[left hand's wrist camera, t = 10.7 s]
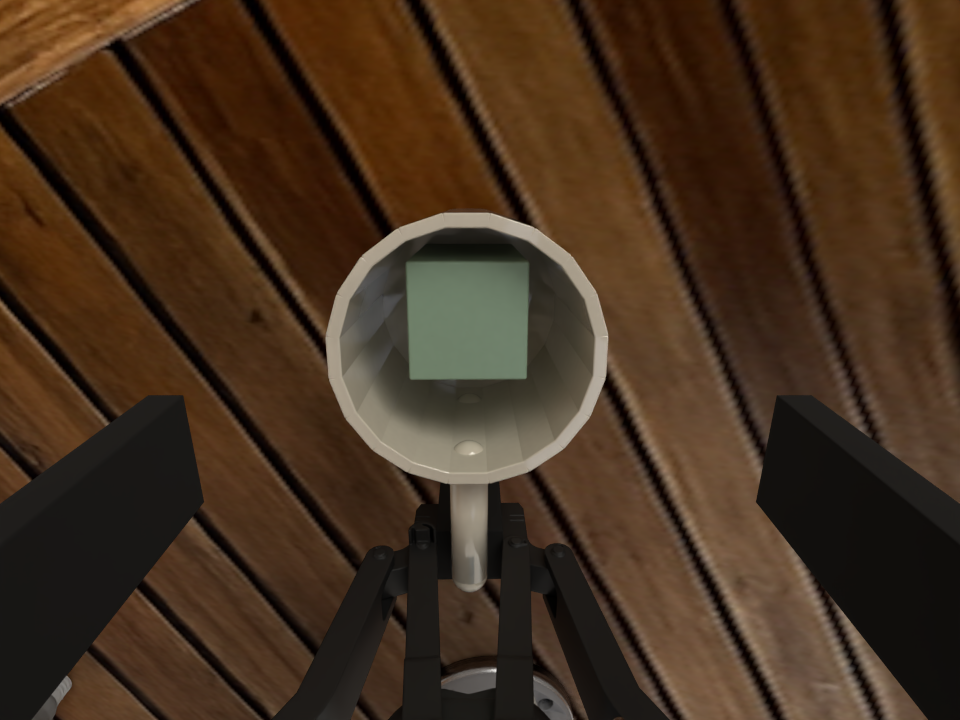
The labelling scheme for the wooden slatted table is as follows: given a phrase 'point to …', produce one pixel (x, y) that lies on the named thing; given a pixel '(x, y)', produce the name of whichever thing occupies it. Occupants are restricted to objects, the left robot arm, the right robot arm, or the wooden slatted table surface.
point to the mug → (467, 403)
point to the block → (467, 312)
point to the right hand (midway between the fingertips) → (470, 480)
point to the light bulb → (53, 701)
